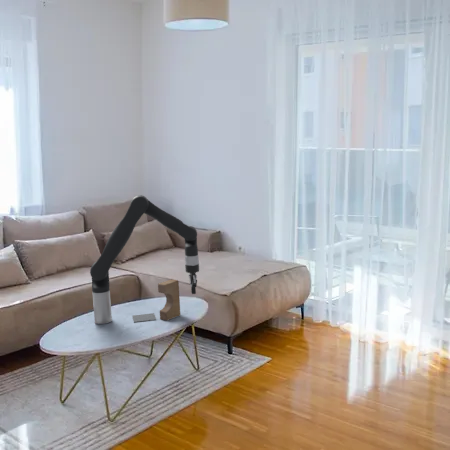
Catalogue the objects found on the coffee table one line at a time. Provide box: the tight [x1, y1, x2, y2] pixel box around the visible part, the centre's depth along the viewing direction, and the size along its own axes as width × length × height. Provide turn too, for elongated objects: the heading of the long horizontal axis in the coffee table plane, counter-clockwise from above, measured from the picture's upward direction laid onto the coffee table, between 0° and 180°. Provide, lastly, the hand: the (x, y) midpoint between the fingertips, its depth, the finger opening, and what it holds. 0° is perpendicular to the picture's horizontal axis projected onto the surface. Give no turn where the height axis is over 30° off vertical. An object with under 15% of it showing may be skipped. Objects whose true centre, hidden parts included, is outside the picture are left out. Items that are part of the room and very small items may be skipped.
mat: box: [132, 312, 157, 324], centre depth 327 cm, size 12×11×1 cm
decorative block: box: [157, 279, 181, 321], centre depth 325 cm, size 11×6×20 cm, turn 139°
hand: (193, 293), depth 327 cm, fingers closed
